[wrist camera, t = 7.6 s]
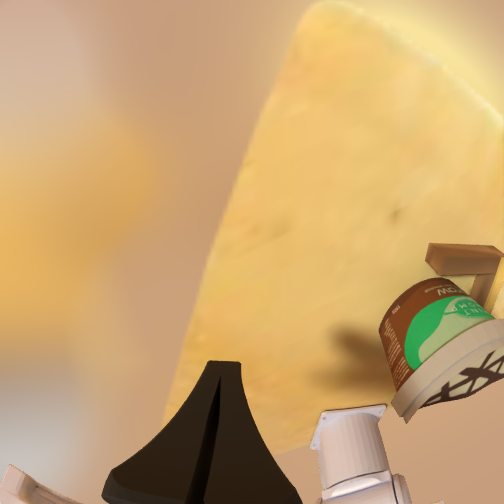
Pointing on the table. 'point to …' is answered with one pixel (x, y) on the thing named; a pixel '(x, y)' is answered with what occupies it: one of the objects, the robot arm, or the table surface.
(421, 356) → the food container
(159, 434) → the robot arm
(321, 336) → the table surface
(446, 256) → the dock bay
